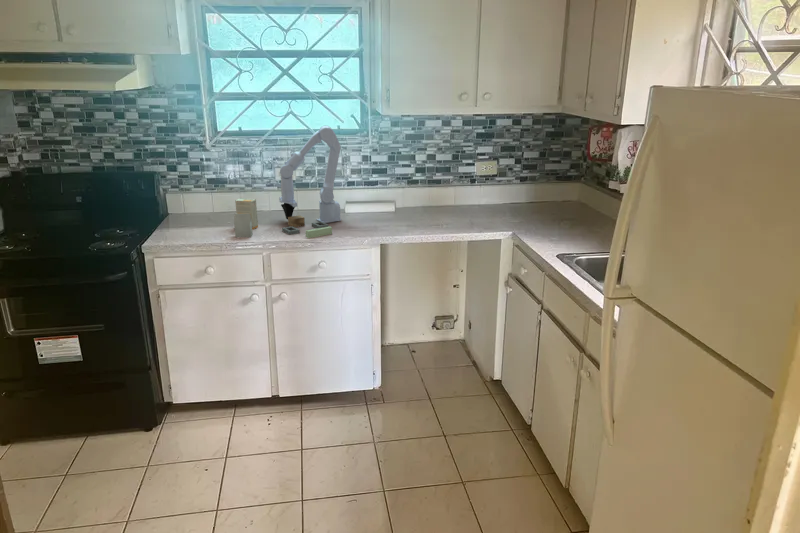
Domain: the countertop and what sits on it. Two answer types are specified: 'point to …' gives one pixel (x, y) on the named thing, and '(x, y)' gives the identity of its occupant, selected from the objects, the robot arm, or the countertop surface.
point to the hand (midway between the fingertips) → (288, 219)
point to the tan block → (296, 221)
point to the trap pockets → (320, 231)
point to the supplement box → (247, 209)
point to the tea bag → (243, 225)
